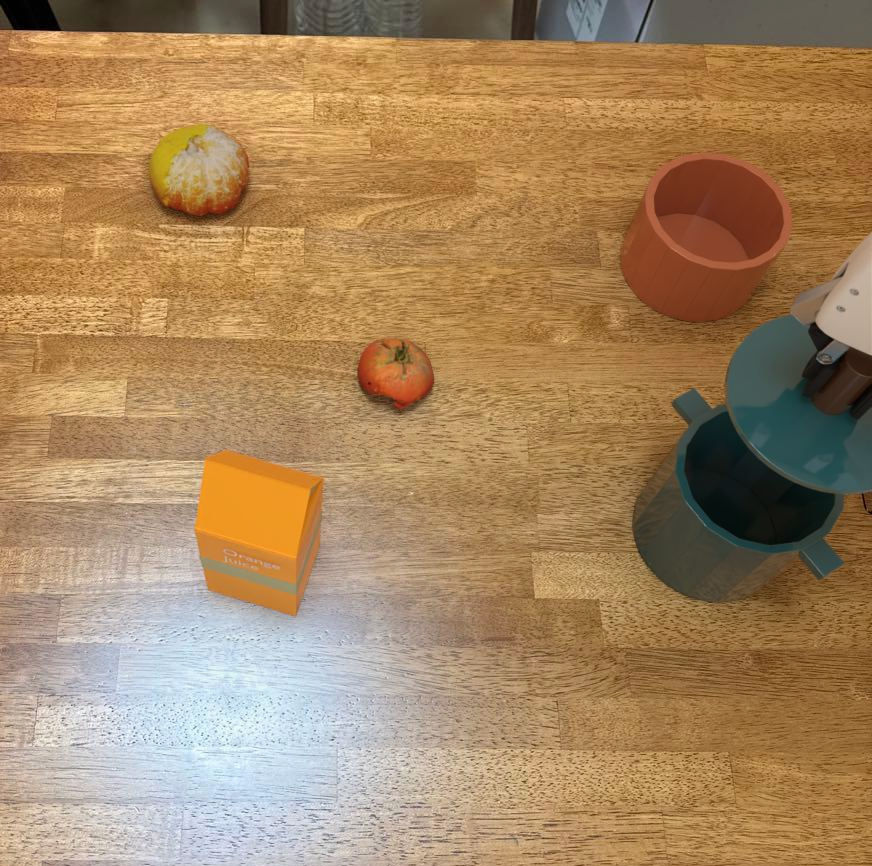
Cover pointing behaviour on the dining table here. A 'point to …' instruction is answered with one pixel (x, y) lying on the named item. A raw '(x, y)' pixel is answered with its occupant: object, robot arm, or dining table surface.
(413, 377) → the tomato
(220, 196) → the fruit
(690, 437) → the pot
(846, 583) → the dining table surface
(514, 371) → the dining table surface
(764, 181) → the canister
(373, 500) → the dining table surface
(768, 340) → the lid
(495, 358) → the dining table surface
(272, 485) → the orange juice
